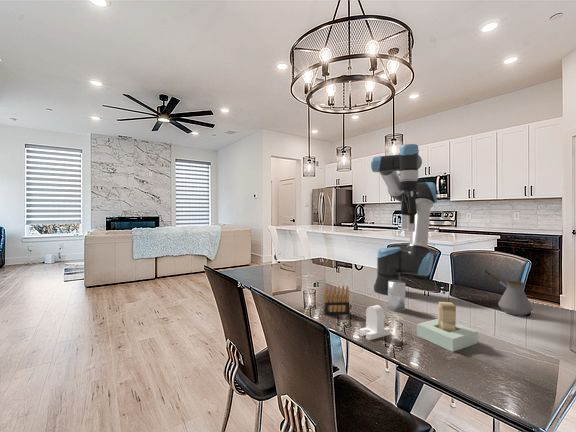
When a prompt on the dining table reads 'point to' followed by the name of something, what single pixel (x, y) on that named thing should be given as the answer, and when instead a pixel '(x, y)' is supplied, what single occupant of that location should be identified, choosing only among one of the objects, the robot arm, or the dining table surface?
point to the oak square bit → (447, 316)
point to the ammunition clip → (336, 301)
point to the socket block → (447, 335)
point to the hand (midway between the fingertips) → (407, 230)
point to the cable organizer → (374, 323)
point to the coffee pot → (513, 298)
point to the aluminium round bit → (396, 295)
